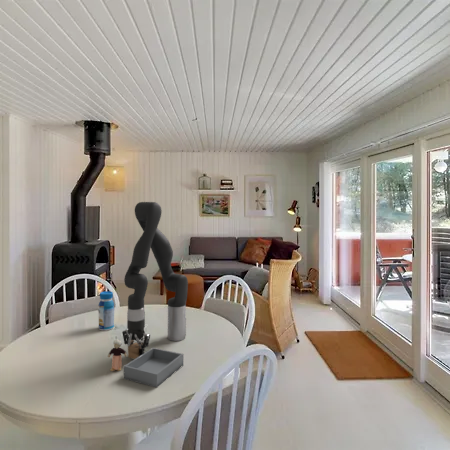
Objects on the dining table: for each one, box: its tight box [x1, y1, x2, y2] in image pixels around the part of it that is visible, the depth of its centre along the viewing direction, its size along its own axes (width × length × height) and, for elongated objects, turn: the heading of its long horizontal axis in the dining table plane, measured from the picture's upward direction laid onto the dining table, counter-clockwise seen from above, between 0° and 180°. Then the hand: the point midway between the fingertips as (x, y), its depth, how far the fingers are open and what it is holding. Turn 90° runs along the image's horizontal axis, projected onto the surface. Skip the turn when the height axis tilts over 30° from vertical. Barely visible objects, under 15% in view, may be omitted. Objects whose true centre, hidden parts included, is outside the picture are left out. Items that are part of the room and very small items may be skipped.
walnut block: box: [127, 341, 142, 360], centre depth 151 cm, size 5×5×5 cm
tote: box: [123, 347, 184, 388], centre depth 138 cm, size 20×16×5 cm
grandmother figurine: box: [107, 339, 128, 372], centre depth 139 cm, size 8×4×13 cm, turn 105°
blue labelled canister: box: [97, 290, 115, 331], centre depth 186 cm, size 8×8×20 cm
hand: (136, 354), depth 151 cm, fingers closed on walnut block, 5 cm apart
